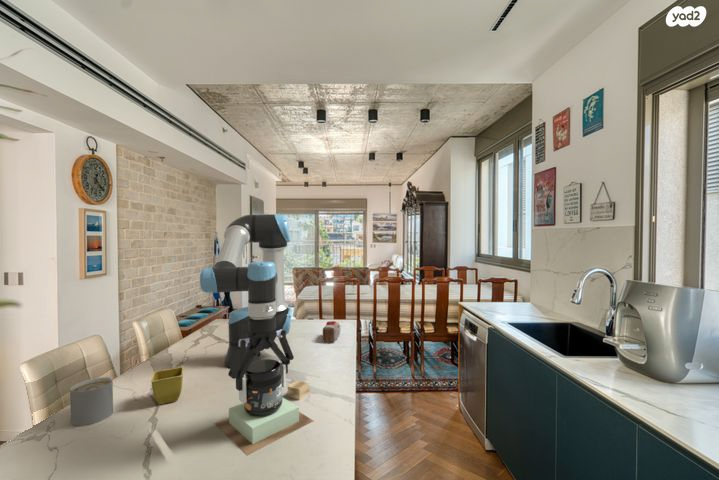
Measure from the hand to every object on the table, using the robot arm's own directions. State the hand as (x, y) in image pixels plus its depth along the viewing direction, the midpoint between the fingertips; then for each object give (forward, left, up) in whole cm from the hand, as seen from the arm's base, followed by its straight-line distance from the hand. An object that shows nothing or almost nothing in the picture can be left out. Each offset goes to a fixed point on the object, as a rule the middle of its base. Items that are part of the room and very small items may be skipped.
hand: (263, 393), depth 91 cm
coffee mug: (-45, -32, -10) cm, 56 cm away
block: (-6, +16, -10) cm, 20 cm away
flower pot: (-38, -14, -10) cm, 42 cm away
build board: (0, 0, -10) cm, 10 cm away
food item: (-47, +66, -10) cm, 81 cm away
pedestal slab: (0, 0, -8) cm, 8 cm away
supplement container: (0, 0, -4) cm, 4 cm away
